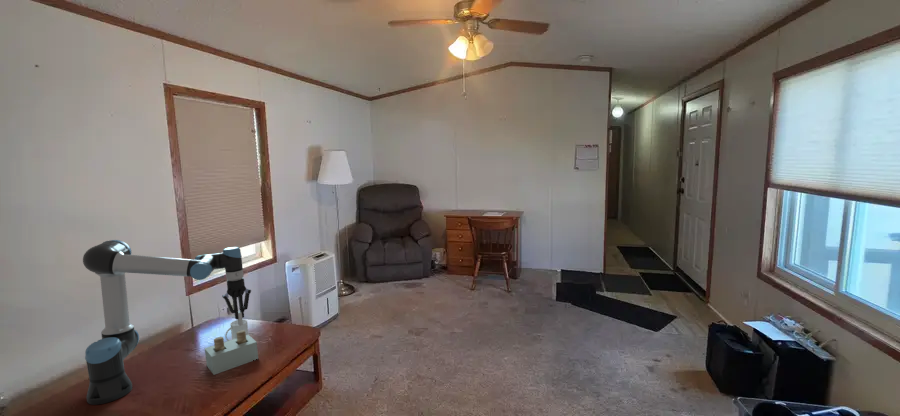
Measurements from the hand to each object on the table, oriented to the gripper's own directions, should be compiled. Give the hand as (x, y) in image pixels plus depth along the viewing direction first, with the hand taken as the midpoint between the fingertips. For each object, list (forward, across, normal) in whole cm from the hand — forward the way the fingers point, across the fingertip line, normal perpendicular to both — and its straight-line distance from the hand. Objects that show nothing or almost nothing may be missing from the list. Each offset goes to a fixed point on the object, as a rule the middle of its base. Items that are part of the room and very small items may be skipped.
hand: (240, 324), depth 201 cm
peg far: (+13, 0, 0) cm, 13 cm away
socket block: (+18, -5, 0) cm, 19 cm away
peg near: (+13, -10, 0) cm, 16 cm away
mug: (+18, +3, +19) cm, 26 cm away
